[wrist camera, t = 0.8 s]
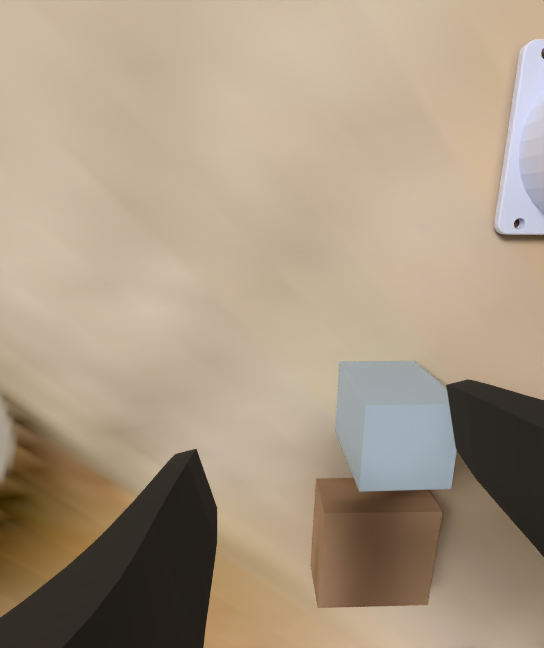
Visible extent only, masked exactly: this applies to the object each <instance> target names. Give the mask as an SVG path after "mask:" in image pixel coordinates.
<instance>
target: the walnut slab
mask: <svg viewBox="0 0 544 648" xmlns="http://www.w3.org/2000/svg"><path fill="white" fill-rule="evenodd" d="M442 512H443V511H442V510H441V508H440V507H439V505H438V504H437V502H436V501H435V499H434V498H433V496H432V494H431V493H430V491H429V490H397V491H360V492H359V490H358V487H357V485H356V482H355V480H354V478H331V479H316V488H315V504H314V520H313V536H312V552H311V571H312V576H313V582H314V588H315V594H316V600H317V606H318V608H331V607H368V606H405V605H428V599H429V593H430V586H431V580H432V574H433V568H434V562H435V556H436V549H437V543H438V537H439V531H440V525H441V519H442Z"/></svg>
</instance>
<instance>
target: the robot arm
mask: <svg viewBox="0 0 544 648" xmlns="http://www.w3.org/2000/svg"><path fill="white" fill-rule="evenodd" d="M542 50H544V40H543V39H536V40H532V41H530V42H529V43H527V44H526V45H524V46H523V48H522V49H521V51H520V54H519V59H518V66H517V72H516V79H515V86H514V93H513V100H512V107H511V113H510V120H509V127H508V134H507V141H506V147H505V154H504V161H503V168H502V175H501V181H500V188H499V195H498V202H497V209H496V215H495V222H494V228H495V230H496V231H497V232H498V233H499V234H506V235H544V59H543V58H542V56H541V52H542ZM516 219H518V220H519V223H520V224H519V226H518V227H517V228H515V227H514V222H515V220H516ZM446 387H447V394H448V400H449V407H450V414H451V420H452V427H453V434H454V440H455V447H456V449H457V451H458V452H459V454H460V456H461V457H462V459H463V460H464V462H465V463H466V465H467V466H468V468H469V469H470V471H471V472H472V474H473V475H474V477H475V478H476V479H477V480H478V482H479V483H480V484H481V485H482V486H483V488H484V489H485V490H486V491H487V492H488V493H489V494H490V496H491V497H492V498H493V499H494V500H495V501H496V503H497V504H498V505H499V506H500V507H501V508H502V509H503V511H504V512H505V513H506V514H507V515H508V516H509V517H510V519H511V520H512V521H513V522H514V523H515V524H516V525H517V527H518V528H519V529H520V530H521V531H522V532H523V533H524V535H525V536H526V537H527V538H528V539H529V540H530V541H531V542H532V544H533V545H534V546H535V547H536V548H537V549H538V551H539V552H540V553H541V554H542V556H543V557H544V400H540V399H537V398H533V397H530V396H526V395H523V394H519V393H516V392H513V391H509V390H506V389H503V388H499V387H496V386H492V385H489V384H485V383H481V382H477V381H473V380H464V381H460V382H456V383H452V384H448V385H446ZM216 546H217V506H216V504H215V501H214V498H213V495H212V492H211V489H210V486H209V484H208V481H207V478H206V475H205V472H204V469H203V467H202V464H201V461H200V458H199V455H198V452H197V449H194V450H190V451H186V452H182V453H178V454H175V455H174V456H173V457H172V458H171V459H170V460H169V461H168V462H167V463H166V465H165V466H164V467H163V468H162V469H161V470H160V471H159V473H158V474H157V475H156V476H155V477H154V478H153V480H152V481H151V482H150V483H149V484H148V485H147V487H146V488H145V489H144V490H143V491H142V492H141V493H140V495H139V496H138V497H137V498H136V499H135V500H134V501H133V503H132V504H131V505H130V506H129V507H128V508H127V509H126V510H125V511H124V512H123V513H122V514H121V515H120V516H119V517H118V518H117V519H116V521H115V522H114V523H113V524H112V525H111V526H110V527H109V528H108V529H107V530H106V531H105V532H104V533H103V534H102V535H101V536H100V537H99V538H98V539H97V540H96V541H95V542H94V543H93V544H91V545H90V546H89V547H88V548H87V549H86V550H85V551H84V552H83V553H82V554H80V555H79V556H78V557H77V558H76V559H75V560H74V561H73V562H71V563H70V564H69V565H68V566H67V567H66V568H64V569H63V570H62V571H61V572H59V573H58V574H57V575H56V576H54V577H53V578H52V579H51V580H49V581H48V582H47V583H46V584H44V585H43V586H42V587H41V588H39V589H38V590H37V591H36V592H34V593H33V594H32V595H31V596H29V597H28V598H27V599H25V600H24V601H23V602H21V603H20V604H19V605H17V606H16V607H14V608H13V609H12V610H10V611H9V612H8V613H6V614H5V615H3V616H2V617H1V618H0V648H203V646H204V636H205V627H206V620H207V613H208V605H209V598H210V591H211V584H212V577H213V569H214V562H215V554H216Z"/></svg>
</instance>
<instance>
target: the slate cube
mask: <svg viewBox="0 0 544 648" xmlns="http://www.w3.org/2000/svg"><path fill="white" fill-rule="evenodd" d="M335 431H336V434H337V436H338V439H339V442H340V444H341V447H342V449H343V452H344V454H345V457H346V459H347V462H348V464H349V467H350V469H351V472H352V475H353V477H354V480H355V482H356V485H357V487H358V490H359V492H360V491H397V490H433V489H451V487H452V480H453V473H454V466H455V459H456V452H457V449H456V447H455V440H454V434H453V427H452V420H451V414H450V407H449V400H448V394H447V389H446V388H445V387H444V386H443V385H442V384H440V383H439V382H438V381H437V380H436V379H435V378H434V377H433V376H431V375H430V374H429V373H428V372H427V371H426V370H425V369H424V368H422V367H421V366H420V365H419V364H418V363H417V362H416V361H363V362H339V374H338V393H337V411H336V429H335Z"/></svg>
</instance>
